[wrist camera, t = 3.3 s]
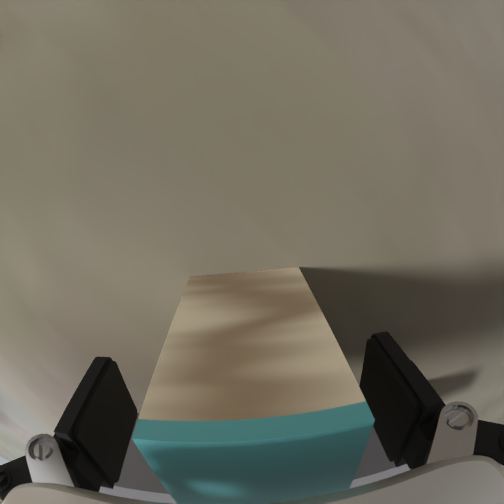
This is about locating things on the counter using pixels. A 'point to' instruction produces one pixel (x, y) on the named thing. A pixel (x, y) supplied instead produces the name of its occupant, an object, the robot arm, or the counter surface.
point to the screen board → (151, 489)
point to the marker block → (252, 395)
